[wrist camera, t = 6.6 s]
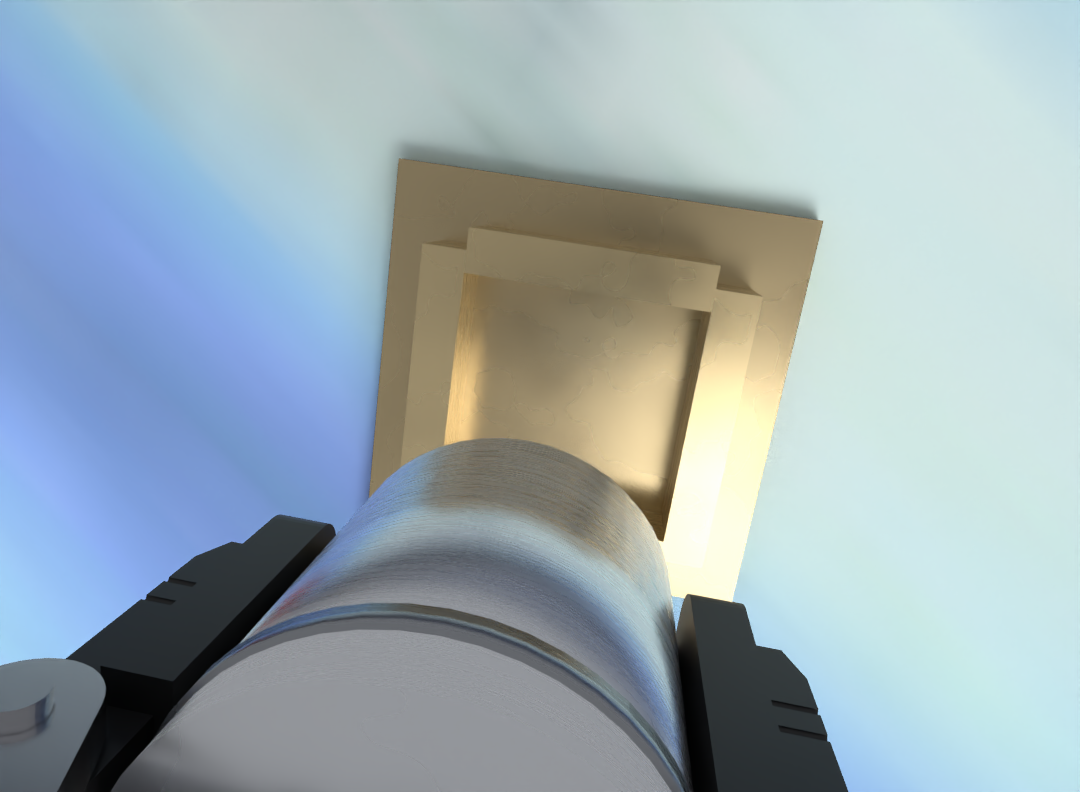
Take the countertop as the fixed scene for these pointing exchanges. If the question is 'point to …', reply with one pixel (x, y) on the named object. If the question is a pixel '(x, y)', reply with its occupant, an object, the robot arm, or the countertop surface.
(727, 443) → the collar
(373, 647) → the cylinder
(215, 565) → the robot arm
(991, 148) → the countertop surface
